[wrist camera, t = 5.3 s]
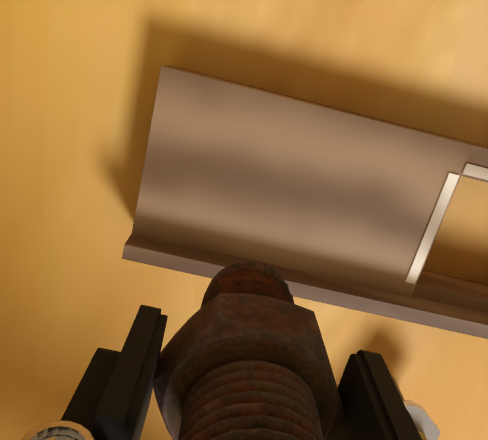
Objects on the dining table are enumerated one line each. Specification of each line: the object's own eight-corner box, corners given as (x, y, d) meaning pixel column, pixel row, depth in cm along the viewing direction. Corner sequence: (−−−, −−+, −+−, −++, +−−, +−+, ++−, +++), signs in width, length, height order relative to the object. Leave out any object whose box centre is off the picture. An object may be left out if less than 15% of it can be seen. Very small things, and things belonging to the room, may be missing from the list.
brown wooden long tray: (512, 315, 36) (552, 353, 31) (139, 231, 34) (122, 258, 29) (584, 171, 32) (642, 190, 28) (168, 65, 30) (154, 66, 25)
